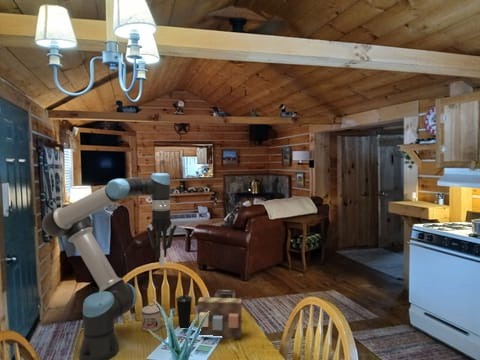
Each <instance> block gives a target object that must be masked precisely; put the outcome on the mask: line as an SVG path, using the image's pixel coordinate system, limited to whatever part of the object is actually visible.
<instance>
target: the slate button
mask: <svg viewBox="0 0 480 360" xmlns="http://www.w3.org/2000/svg"><path fill="white" fill-rule="evenodd" d="M222 329H223V315H217V316H213V330H222Z"/></svg>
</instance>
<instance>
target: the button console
mask: <svg viewBox="0 0 480 360" xmlns="http://www.w3.org/2000/svg"><path fill="white" fill-rule="evenodd" d="M208 311H210V312H209V326H208V327H202V328H201V331H200V334H199V335H213V336H222V337H223V338H222V339H224V338H227V339H228V340H241V339H242V334H243V329H242V326H243V325H242V324H243V323H242V320H243V319H242V298H237V297H236V298H215V297H203V296H202V297H201V296H200V297H199V298H198V300H197V314H198V315H197V319H198V321H197V322H198V323H197V325H198V326H199V314H200V312H205V313H206V312H208ZM229 313H233V314H238V328H229ZM217 315H223V329H222V330H213V316H217ZM227 339H226V340H227Z"/></svg>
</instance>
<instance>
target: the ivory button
mask: <svg viewBox="0 0 480 360" xmlns="http://www.w3.org/2000/svg"><path fill="white" fill-rule="evenodd" d="M204 314H205V312H200V314H199V324H200V322H201V320H202V318H203V316H204ZM208 326H209V314H208V316H207V317H206V319H205V321H204V323H203V325H202V327H208Z"/></svg>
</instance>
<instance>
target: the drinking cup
mask: <svg viewBox="0 0 480 360" xmlns="http://www.w3.org/2000/svg"><path fill="white" fill-rule="evenodd" d="M182 287H183V288H182V289H183V291H182V293H183V295H179V296H177V297H176V298H175V301H176V308H177V317H178V327H180V328H187V329H189V328H190V327H191V326H190V323H191V312H192V301H193V297H192V296H190V295H187V294H186V291H185V290H186V289H185V288H186V285H185V284H183V286H182ZM189 326H190V327H189ZM180 328H179V329H180Z"/></svg>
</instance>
